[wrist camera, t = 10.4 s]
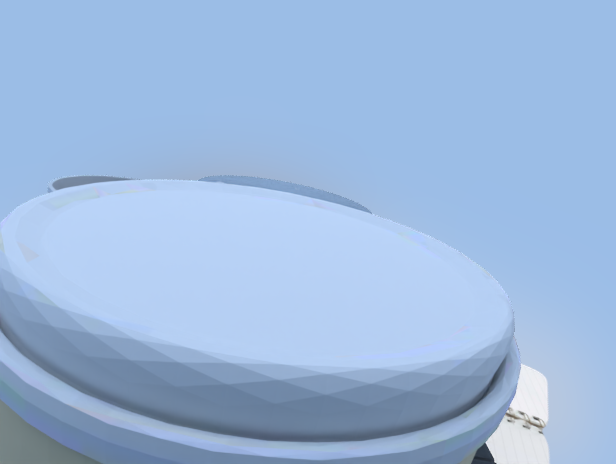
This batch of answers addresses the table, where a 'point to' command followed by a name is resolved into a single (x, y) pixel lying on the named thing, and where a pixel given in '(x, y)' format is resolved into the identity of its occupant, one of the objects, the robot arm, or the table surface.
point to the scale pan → (286, 189)
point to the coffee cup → (241, 332)
